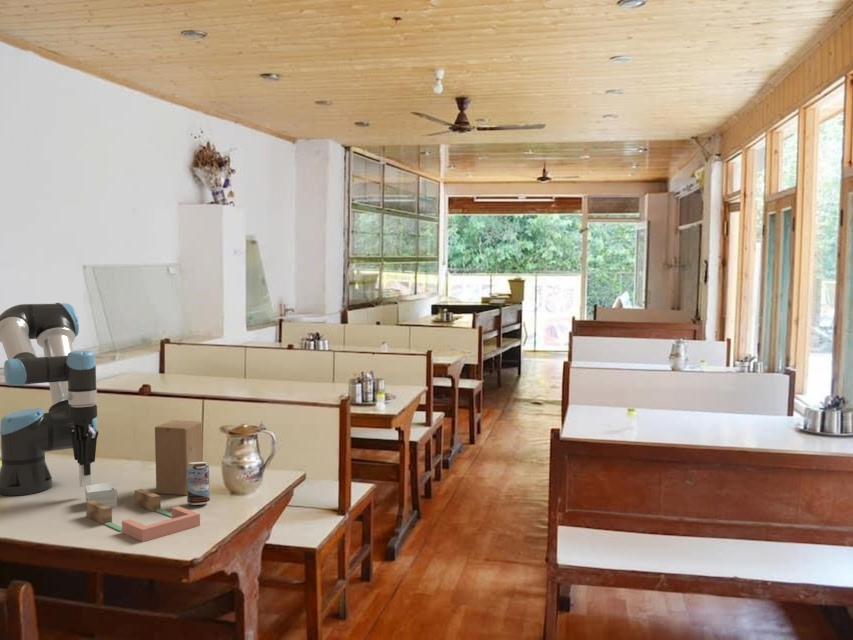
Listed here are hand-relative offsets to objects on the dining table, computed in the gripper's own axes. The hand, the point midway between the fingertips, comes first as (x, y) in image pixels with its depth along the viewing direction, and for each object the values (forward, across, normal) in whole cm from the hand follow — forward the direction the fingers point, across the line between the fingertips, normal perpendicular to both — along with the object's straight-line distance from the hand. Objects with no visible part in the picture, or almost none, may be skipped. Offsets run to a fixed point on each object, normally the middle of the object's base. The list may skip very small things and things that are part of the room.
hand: (85, 485), depth 228 cm
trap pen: (+4, +40, 0) cm, 40 cm away
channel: (+4, +22, 0) cm, 22 cm away
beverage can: (+4, +30, +18) cm, 35 cm away
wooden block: (+4, +14, +22) cm, 26 cm away
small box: (+4, +9, 0) cm, 10 cm away
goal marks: (+4, +31, 0) cm, 31 cm away
